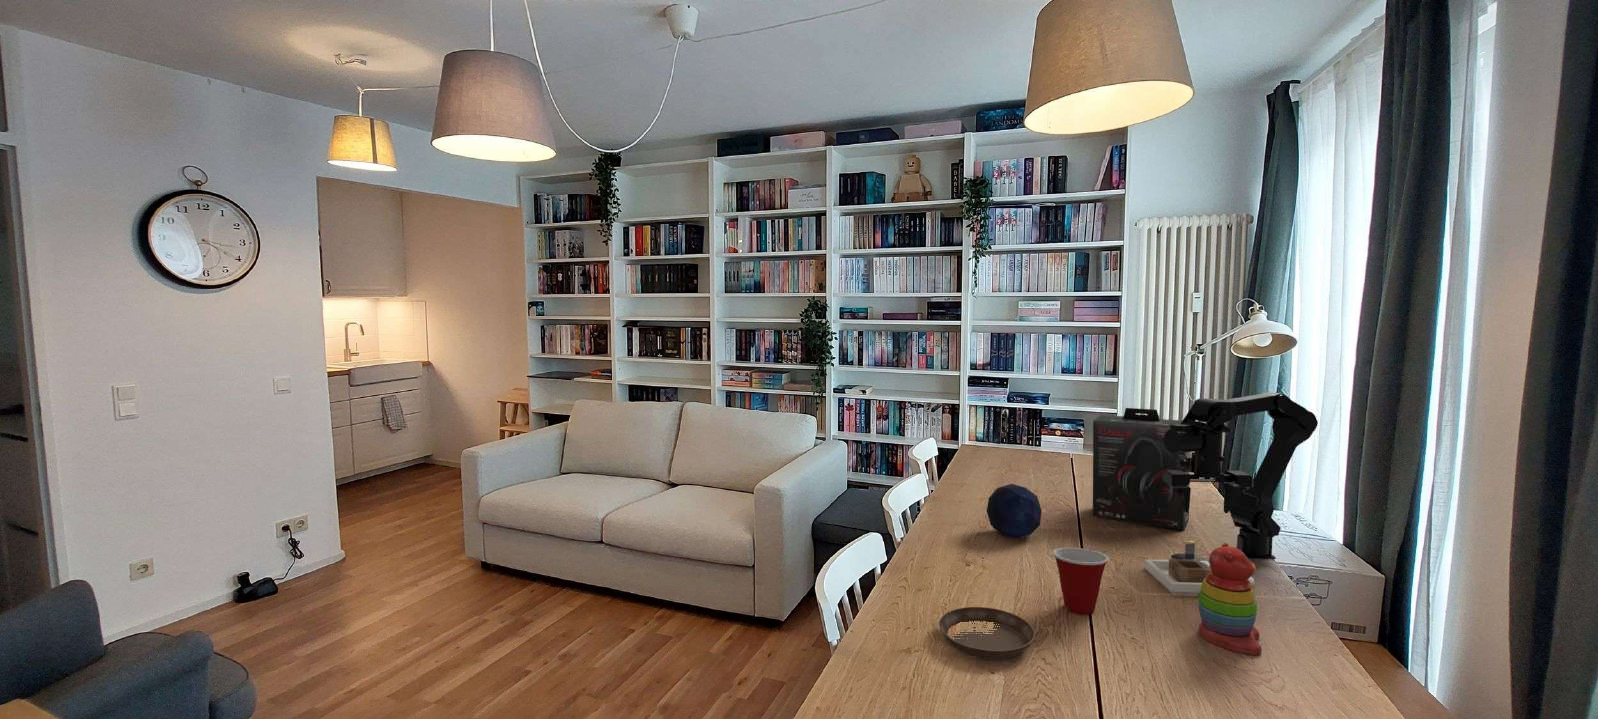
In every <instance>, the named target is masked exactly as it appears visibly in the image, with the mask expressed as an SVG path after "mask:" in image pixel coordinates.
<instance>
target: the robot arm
mask: <svg viewBox="0 0 1598 719" xmlns="http://www.w3.org/2000/svg"><path fill="white" fill-rule="evenodd" d="M1263 412H1267V415H1268V416H1269V417H1270V418H1271V420H1273V422H1272V425H1271V428H1272V434H1273V439H1272V442H1271V443H1270V445H1269V447H1268V450H1267V451H1266V453H1265V455H1264V458H1263V460H1262V462H1261V463H1260V465H1259V468H1258V470H1257V472H1256V474H1255V476H1254V478H1253V476H1252V475H1251V474H1249V473H1247V472H1245V471H1242V470H1225V471H1224V472H1222V463H1223V462H1225V460H1226V459H1225V458H1226V457H1225V456H1223V433H1231V432H1232V430H1231V428H1229V427H1228V426H1227V425H1226V423H1229V422H1232V420H1234V419H1235V418H1236V417H1239V416H1245V415H1251V414H1257V413H1263ZM1182 420H1183V421H1182V422H1181V425H1177V424H1171V425H1170V430H1168V431H1167V432H1166V433H1165V436H1164V445H1165V447H1166V449H1167V450H1168V451H1170V452H1172V453H1178V452H1190V458H1187V457H1186V455H1176V467H1177V468H1183V469H1184V472H1190V474H1186V473H1184V472H1183V471H1181V470H1166V471H1165V472H1164V473H1163V481H1165V482H1166V483H1168V484H1169V485H1171V486H1173V487H1174V488H1175V489H1176V490H1177V492H1178V494H1179V497H1180V500H1181V502H1182V505H1183V508H1184V511H1185V512H1186V513H1188V512H1189V513H1190V503H1191V490H1192V488H1191V487H1190V485H1191V484H1190V483H1222V485H1223V489H1224V497H1223V513H1225V514H1230V517H1231V520H1232V522H1233V524H1234V527H1237V528H1239V534H1237V536H1236V538H1237V539H1236V548H1237V549H1239V550H1241V551H1242V552H1243V553H1244V554H1245V555H1246V557H1247V558H1248V559H1253V560H1255V559H1257V560H1258V559H1259V560H1260V559H1261V560H1262V559H1263V560H1264V559H1265V560H1276V559H1277V558H1276V556H1275V555H1273V539H1274V537H1277V536H1279V534H1280V532H1281V528H1282V527H1281V525H1279V524H1278V523H1277V522H1276V520H1274V518H1272V517H1273V514H1274V511H1275V510H1274V502H1273V499H1272V498H1273V495H1274V494H1275V491H1276V490H1277V488H1278V486H1279V484H1280V481H1281V479H1282V477H1283V475H1284V474H1285V471H1286V469H1287V468H1288V466H1289V463H1290V461H1291V459H1292V458H1293V455H1294V453H1295V451H1296V449H1297V447H1298V446H1300V445H1301V444H1303V443H1305V442H1306V441H1307V440H1309V439H1310V438H1311V436H1312V435H1313V433H1314V432H1315V431H1316V429H1317V427H1318V424H1319V421H1318V420H1317V417H1316V415H1315V414H1314V412H1312V411H1309V410H1308V409H1307V408H1305V407H1303V406H1302V405H1301V404H1299V403H1297V402H1296V401H1293V400H1292V399H1291V398H1290V397H1289V396H1288V395H1287V394H1284V393H1280V392H1273V391H1266V392H1263V393H1260V394H1259V393H1258V394H1257V393H1256V394H1253V395H1247V396H1240V397H1233V398H1228V399H1223V398H1222V399H1220V398H1219V399H1218V398H1206V397H1205V398H1202V397H1201V398H1197V399H1196V400H1194V401H1193V403H1192V406H1191V407H1190V409H1189V410H1188V412H1187V413H1186V414H1185V416H1184V417H1183V419H1182ZM1188 485H1189V487H1188Z"/></svg>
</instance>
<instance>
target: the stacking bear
mask: <svg viewBox="0 0 1598 719" xmlns="http://www.w3.org/2000/svg"><path fill="white" fill-rule="evenodd" d="M1208 558H1209V559H1208V562H1209V563H1210V568H1211V571H1212V572H1211V573H1209V574H1208V575H1207V576H1206V578H1205V579H1204V580H1203V582H1202V586H1201V589H1200V592H1199V595H1198V599H1197V600H1198V602H1197V603H1198V611H1199V614H1200V619H1201V622H1200V624H1199V626H1198V634H1199V635H1200V636H1201V637H1202V638H1203V639H1204V640H1206V641H1207V642H1210V643H1212V644H1214V645H1216V646H1219V647H1222V648H1223V649H1226V650H1230V651H1231V652H1232V651H1233V652H1235V653H1236V652H1237V653H1240V654H1244V655H1249V656H1250V655H1251V656H1257V655H1260V654H1262V646H1261V645H1260V643H1259V641H1257V640H1258V639H1260V632H1259V630H1258V629H1257V628H1256V627H1255V626H1254V624H1255V622H1256V618H1257V613H1258V612H1257V611H1258V605H1257V601H1256V596H1255V590H1254V591H1253V588H1252V584H1251V583H1250V581H1249V580H1248V579H1249V578H1250V577H1252V576H1253V575H1254V574H1255V572H1256V570H1257V567H1256V565H1255V563H1253V562H1252V561H1251V560H1250V558H1247V557H1246V555H1245V554H1244V553H1243V552H1242V551H1241V550H1239V549H1237V547H1235V546H1234V547H1233V546H1229V543H1228V542H1225V543H1223V544H1222V545H1221V546H1218V547H1217V548H1215V549H1213V550H1212V551H1211V552H1210V554H1209V557H1208Z"/></svg>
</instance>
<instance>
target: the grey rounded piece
mask: <svg viewBox="0 0 1598 719" xmlns="http://www.w3.org/2000/svg"><path fill="white" fill-rule="evenodd" d="M1196 543H1197V542H1196V541H1195V540H1182V544H1183V545H1184V546H1185V547H1184V548H1185V550H1184V553H1175V554H1172V555H1171V556H1170V559H1198V560H1199V561H1207V562H1209V560H1207V559H1206V558H1204V557H1203V556H1202V557H1201V556H1199V555H1195V549H1196V547H1195V546H1196Z"/></svg>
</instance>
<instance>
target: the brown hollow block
mask: <svg viewBox="0 0 1598 719" xmlns="http://www.w3.org/2000/svg"><path fill="white" fill-rule="evenodd" d="M1168 560H1169V574H1170V575H1171V576H1172V577H1173V578H1174V579H1175V580H1177V581H1178V582H1189V583H1202V582H1203V580H1204V579H1205V578H1206V576H1207V575H1208V574H1209V573H1211V572H1212V571H1211V569H1210V568H1208V567H1207V566H1206V565H1204V564H1203V563H1202V562H1200V561H1199V560H1198V559H1172V558H1168Z"/></svg>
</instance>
